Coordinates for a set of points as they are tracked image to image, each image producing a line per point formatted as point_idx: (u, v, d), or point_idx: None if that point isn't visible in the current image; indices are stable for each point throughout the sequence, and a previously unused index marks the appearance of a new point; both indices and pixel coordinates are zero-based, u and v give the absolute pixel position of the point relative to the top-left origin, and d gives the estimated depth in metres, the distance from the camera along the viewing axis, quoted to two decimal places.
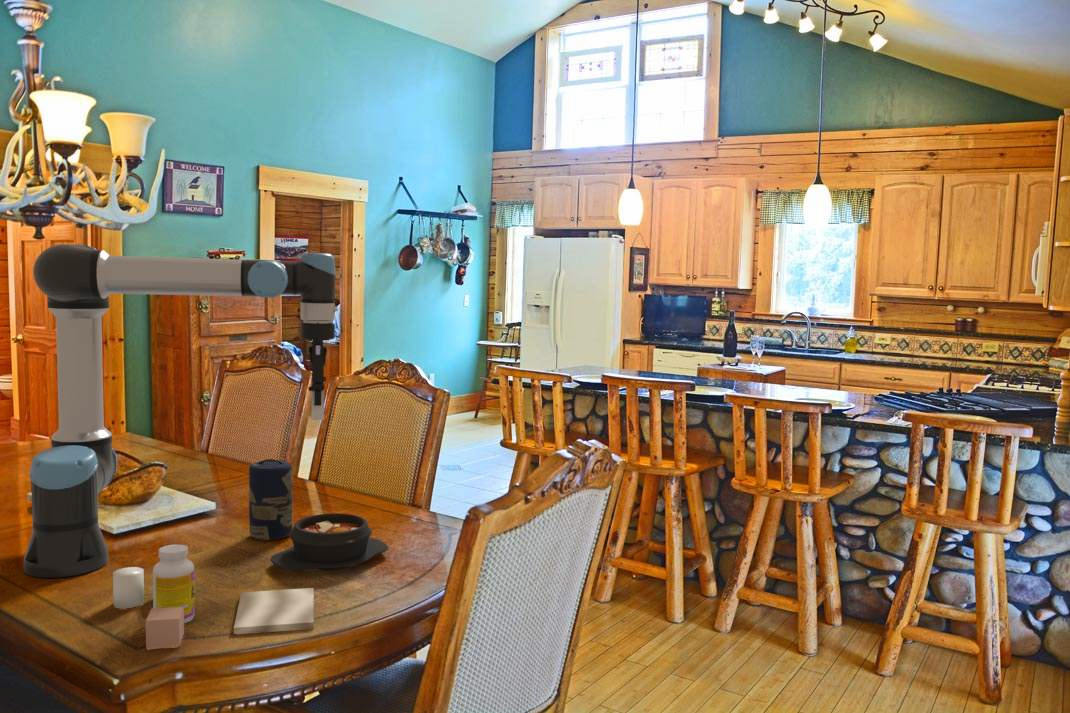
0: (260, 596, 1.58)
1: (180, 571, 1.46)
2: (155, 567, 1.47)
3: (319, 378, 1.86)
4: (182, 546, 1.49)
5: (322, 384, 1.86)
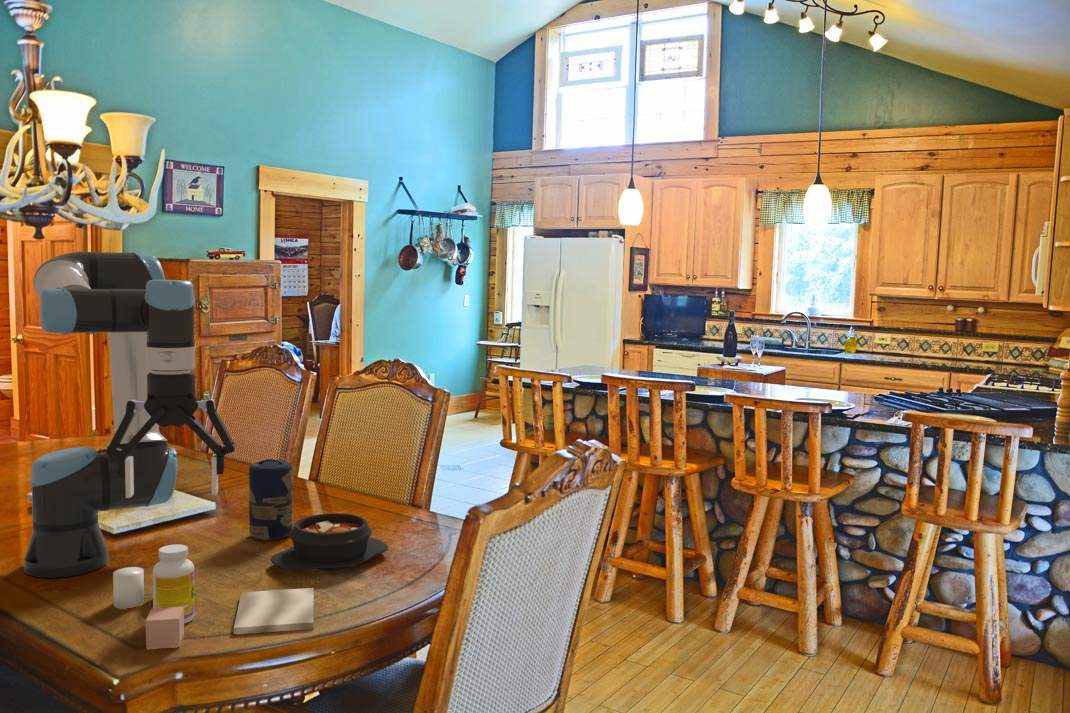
0: (260, 596, 1.58)
1: (180, 571, 1.46)
2: (155, 567, 1.47)
3: None
4: (182, 546, 1.49)
5: (107, 449, 1.43)
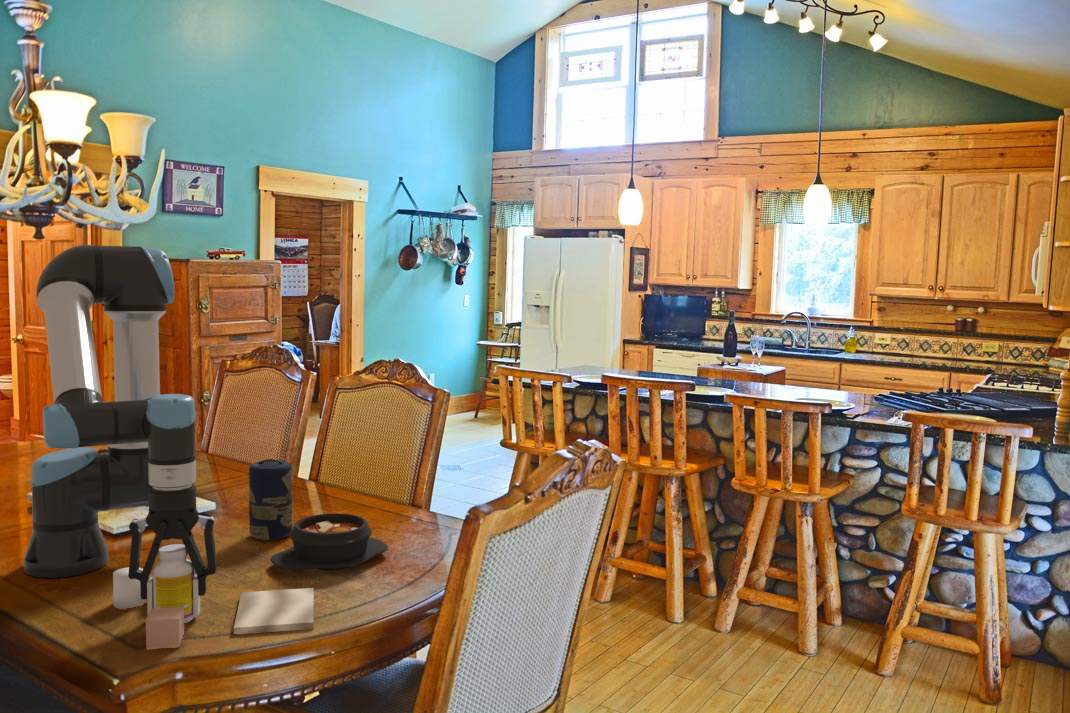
0: (260, 596, 1.58)
1: (180, 571, 1.46)
2: (155, 567, 1.47)
3: None
4: (182, 546, 1.49)
5: None
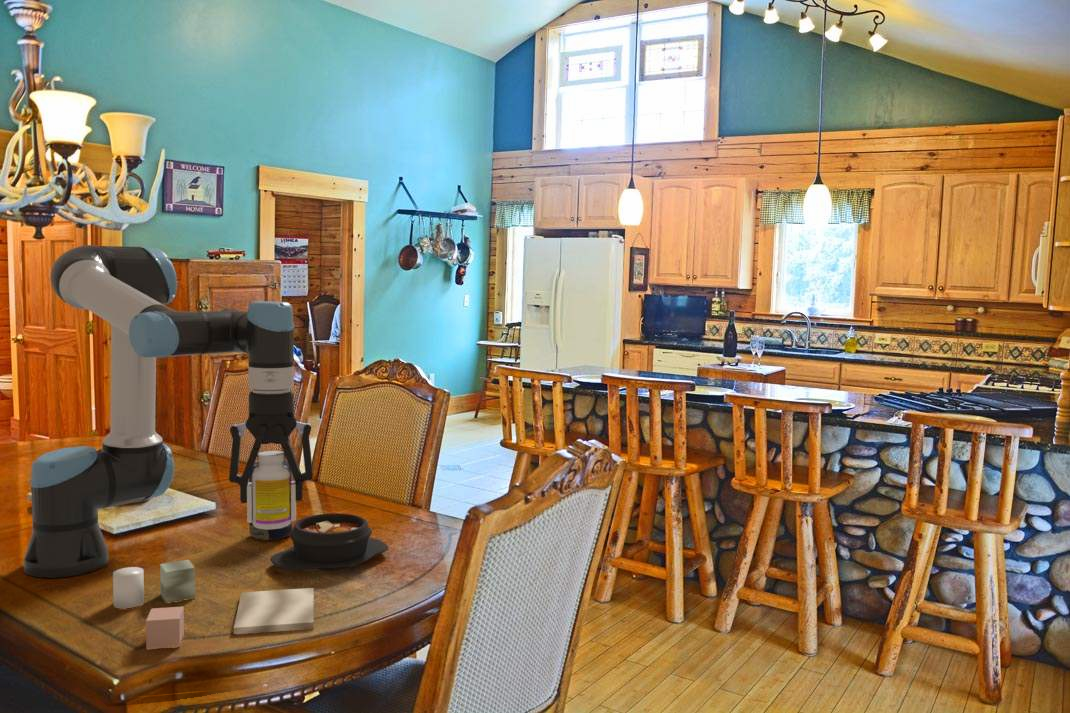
0: (260, 596, 1.58)
1: (279, 474, 1.48)
2: (254, 471, 1.49)
3: None
4: (280, 452, 1.51)
5: (229, 477, 1.48)
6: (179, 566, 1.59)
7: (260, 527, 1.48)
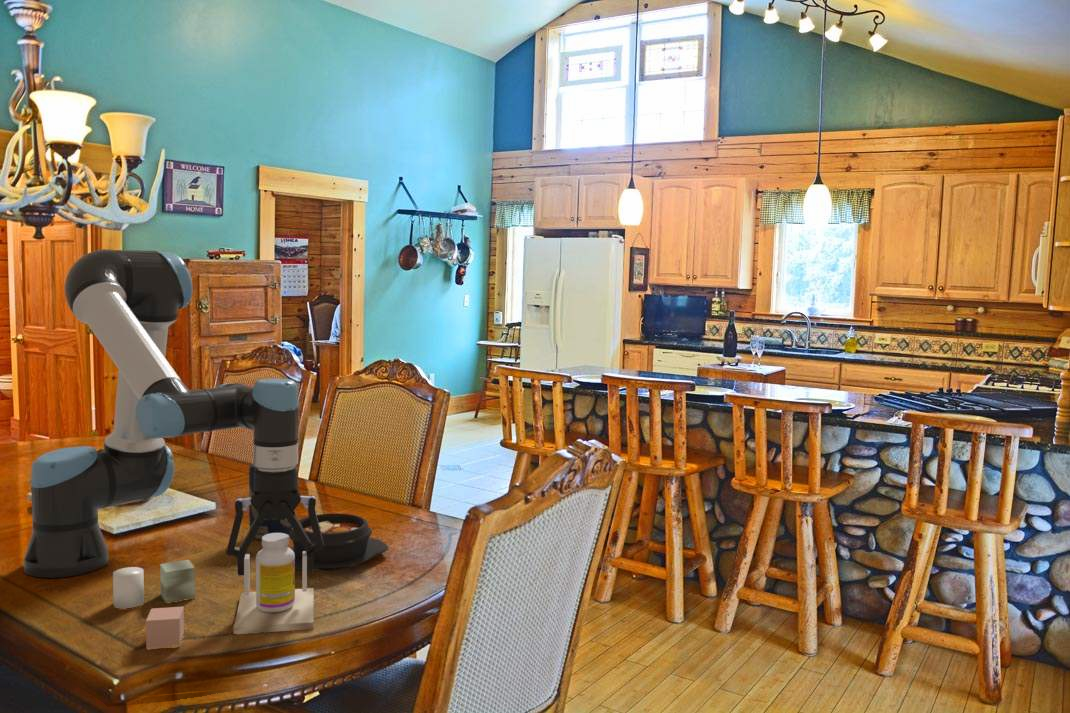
0: None
1: (284, 559, 1.50)
2: (259, 555, 1.50)
3: None
4: (284, 535, 1.53)
5: None
6: (179, 566, 1.59)
7: (264, 610, 1.50)
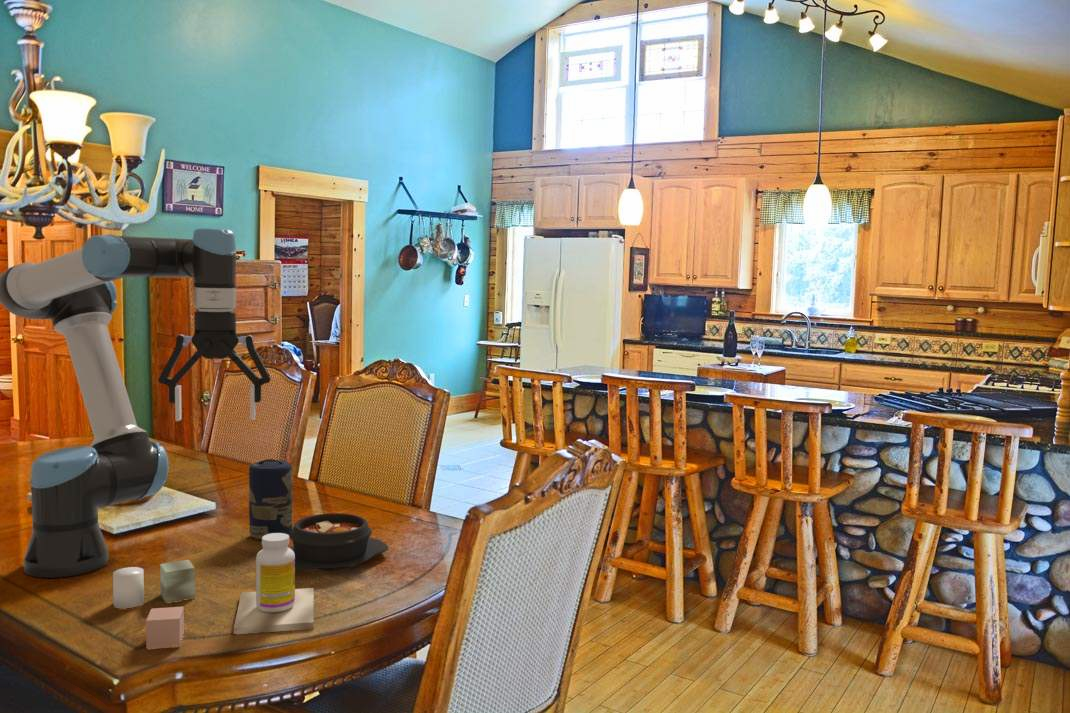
0: None
1: (284, 558, 1.50)
2: (259, 555, 1.51)
3: None
4: (284, 535, 1.53)
5: (159, 377, 1.62)
6: (179, 566, 1.59)
7: (265, 610, 1.50)
